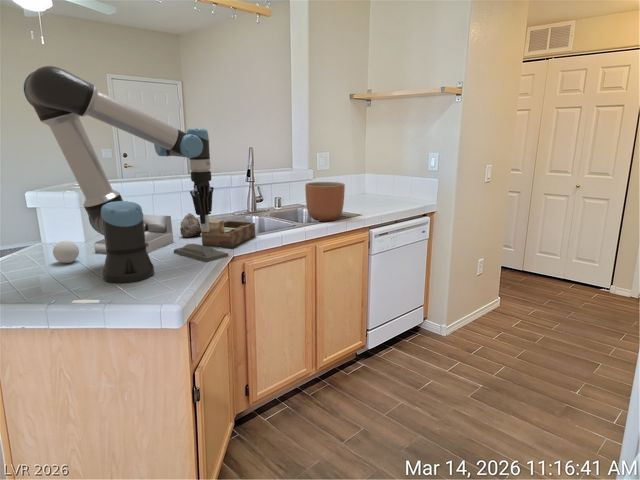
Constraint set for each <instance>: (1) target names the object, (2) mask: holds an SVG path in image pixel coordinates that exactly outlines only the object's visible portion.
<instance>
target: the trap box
mask: <svg viewBox="0 0 640 480" xmlns="http://www.w3.org/2000/svg"><path fill="white" fill-rule="evenodd" d="M254 237H255V238H256V222H250V221H236V220H235V221H234V220H225V221H224V232H223V233H221V234H219V235H215V234H207V232H202V231H201V243H202V244H201V245H202V246H206V247H210V248H220V247H221V248H223V249H235V248H237V247H239V246H241V245H243V244H244V243H247V242H248V241H250V240H253V239H255V238H254ZM221 248H220V249H221Z"/></svg>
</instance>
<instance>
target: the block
mask: <svg viewBox="0 0 640 480" xmlns="http://www.w3.org/2000/svg"><path fill="white" fill-rule="evenodd" d="M224 222H225V221H224V219H209V231H208V232H207V234H215V235H219V234H221V233H223V232H224Z"/></svg>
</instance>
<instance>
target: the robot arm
mask: <svg viewBox="0 0 640 480" xmlns="http://www.w3.org/2000/svg"><path fill="white" fill-rule="evenodd" d="M23 93H24V96H25V98H26V100H27V102H28V103H29V104H30V105H31V106H32V107H33V109H34V111H35V113H36V115H37V117H38V119H39V120H40V122H41V123H42V124H44V125H47V126H48V127H49V129H50V130H51V132H52V134H53V136H54V138H55V141H56V142H57V144H58V147H59V149H60V150H61V152H62V154H63V156H64V159H65V160H66V163H67V165H68V166H69V168H70V170H71V172H72V174H73V177H74V178H75V180H76V182H77V184H78V187H80V188H79V189H80V190H81V192H82V194H83V196H84V199H85V200H84V202H83V208H84V210H85V211H86V213H87V215H88V221H89V224H90V225H91V227H92V229H93V230H94V231H96V232H97V234H98V233H99V234H100V235H102V236H103V237H104V239H105V246H106V253H107V254H105V256H106V257H105V261H104V268H103V270H102V279H103V280H104V281H105V282H108V283H113V284H126V283H133V282H138V281H141V280H146V279H148V278H150V277H152V276H153V275H154V274H155V266H154V264H153V263H152V261H151V258H150V255H149V253H147V251H146V243H145V232H144V222H143V214H144V213H143V208H142V206H141V205H140V204H139V203H137V202H134V201H126V200H124V199H123V198H122V195H121V193H120V192H119V191H118V190H114V189H113V186H112V185H111V183H110V181H109V179H108V176H107V174H106V172H105V171H104V169H103V165H102V164H101V162H100V159H99V157H98V155H97V153H96V151H95V149H94V147H93V145H92V143H91V140H90V138H89V137H88V134H87V132H86V130H85V127H84V125H83V123H82V121H81V119H80V117H83V118H84V117H86V116H89V117H91V118H93V119H95V120H98V121H100V122H103V123H105V124H107V125H110V126H112V127H114V128H116V129H119V130H121V131H124V132H126V133H128V134H131V135H132V136H135V137H137V138H140V139H142V140H145V141H147V142H149V143H151V144H153V146H154V150H155V153H156V155H158V156H159V157H181V158H187V159H189V170H190V179H191V182H192V183H193V189H192V190H190V191H189V193H190V195H191V199H192V201H193V202H192V203H193V207H194V211H195V215H197V216H199V223H200V226H201V231H202V232H208V231H209V221H210V217H209V215H211V214H212V209H213V196H214V195H213V194H214V189H215V188H214V186H211V184H210V181H212V171H211V169H212V168H211V167H212V166H211V156H210V137H209V132H208V130H207V129H206V128H188V129H187V130H186V132H184V131H183V130H180V129H178V128H176V127H174V126H172V125H169V124H167V123H166V122H164V121H162V120H159V119H157V118H156V117H153V116H151V115H149V114H146V113H144V112H143V111H140V110H138V109H137V108H134V107H132V106H131V105H128V104H127V103H124V102H122V101H120V100H117V99H115V98H113V97H111V96H109V95H108V94H105V93H102V92H101V91H99V90H97V87H96V86H95V85H94V84H92V83H90V82H89V81H86V80H84V79H82V78H80V77H78V76H76V74H73V73H71V72H70V71H67V70H66V69H63V68H61V67H57V66H53V65H47V66H41V67H39V68H37V69H36V70H34V71H32V72H31V73H30V74H28V75H27V77H26V78H25V80H24V83H23Z"/></svg>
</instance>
